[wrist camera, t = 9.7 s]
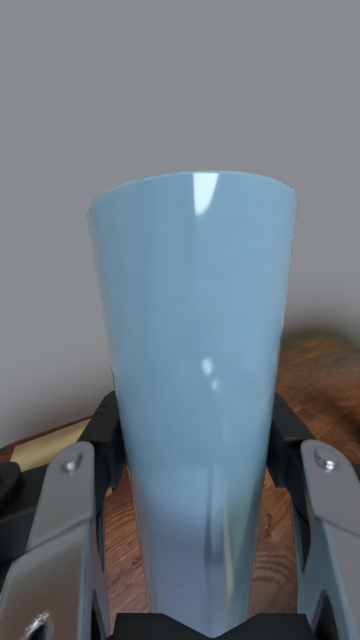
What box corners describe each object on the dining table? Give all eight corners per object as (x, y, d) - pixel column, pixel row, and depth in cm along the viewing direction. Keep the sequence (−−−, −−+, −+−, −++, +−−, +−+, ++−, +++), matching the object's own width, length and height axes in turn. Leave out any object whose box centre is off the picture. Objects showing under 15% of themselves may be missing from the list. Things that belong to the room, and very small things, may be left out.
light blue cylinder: (241, 741, 7) (340, 104, 2) (125, 616, 9) (33, 212, 4) (252, 538, 12) (286, 227, 7) (176, 494, 14) (160, 243, 9)
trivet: (112, 493, 23) (109, 476, 22) (-13, 568, 17) (-23, 549, 17) (101, 427, 33) (99, 414, 32) (20, 461, 27) (15, 446, 27)
